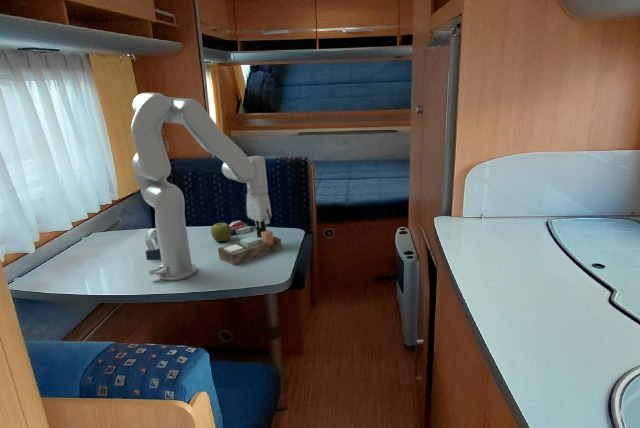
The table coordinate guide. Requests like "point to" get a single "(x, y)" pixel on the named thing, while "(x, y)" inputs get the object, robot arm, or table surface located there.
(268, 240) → the slider
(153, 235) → the white sculpture
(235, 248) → the button
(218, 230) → the apple
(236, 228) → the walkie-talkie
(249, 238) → the button
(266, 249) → the brown wooden tray
